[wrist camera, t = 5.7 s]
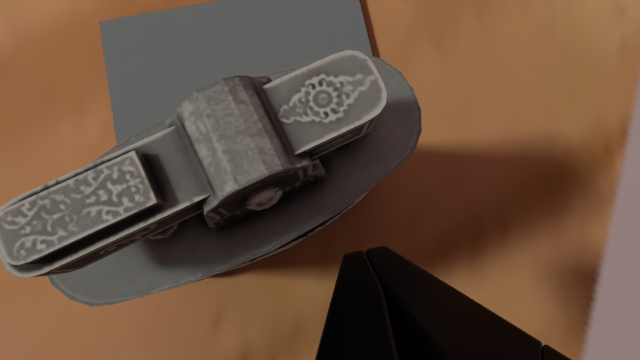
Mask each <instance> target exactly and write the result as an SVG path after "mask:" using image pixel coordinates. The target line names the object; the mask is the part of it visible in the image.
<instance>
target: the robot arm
mask: <svg viewBox="0 0 640 360" xmlns="http://www.w3.org/2000/svg"><path fill="white" fill-rule="evenodd" d="M315 360H571V359H570V358H568V357H566V356H565V355H563V354H562V353H560V352H558V351H557V350H555V349H553V348H552V347H550V346H549V345H543V347H542V343H541V341H539V340H537V339H536V338H534V337H533V336H531V335H529V334H528V333H526V332H524V331H523V330H521V329H520V328H518V327H516V326H515V325H513V324H511V323H510V322H508V321H507V320H505V319H503V318H502V317H500V316H499V315H497V314H495V313H494V312H492V311H490V310H489V309H487V308H486V307H484V306H482V305H481V304H479V303H477V302H476V301H474V300H473V299H471V298H469V297H468V296H466V295H465V294H463V293H461V292H460V291H458V290H456V289H455V288H453V287H452V286H450V285H448V284H447V283H445V282H443V281H442V280H440V279H439V278H437V277H435V276H434V275H432V274H431V273H429V272H427V271H426V270H424V269H422V268H421V267H419V266H418V265H416V264H414V263H413V262H411V261H409V260H408V259H406V258H405V257H403V256H401V255H400V254H398V253H397V252H395V251H393V250H392V249H390V248H388V247H386V246H380V247H376V248H371V249H367V250H366V252H364V251H357V252H352V253H347V254H345V255H344V256H343V258H342V262H341V265H340V269H339V273H338V276H337V280H336V284H335V288H334V291H333V295H332V299H331V302H330V306H329V310H328V313H327V317H326V321H325V325H324V328H323V332H322V336H321V339H320V343H319V347H318V350H317V354H316V358H315Z"/></svg>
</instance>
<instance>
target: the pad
mask: <svg viewBox="0 0 640 360" xmlns="http://www.w3.org/2000/svg"><path fill="white" fill-rule="evenodd" d="M99 22H100V29H101V36H102V43H103V50H104V57H105V64H106V71H107V78H108V85H109V92H110V99H111V106H112V113H113V120H114V127H115V134H116V141H117V144H119V143H120V142H122V141H123V140H125V139H126V138H128V137H129V136H131V135H133V134H135V133H137V132H139V131H141V130H143V129H145V128H146V127H148V126H150V125H152V124H154V123H156V122H158V121H160V120H162V119H163V118H165V117H167V116H169V115H171V114H173V113H175V110H176V107H177V106H178V104H179V103H180V102H181V101H182V100H183V99H184V98H186V97H187V96H189V95H190V94H191V93H193V92H194V91H196V90H199V89H201V88H203V87H205V86H208V85H210V84H212V83H214V82H217V81H219V80H221V79H224V78H229V77H233V76H250V77H253V78H254V77H261V76H264V75H267V74H269V73H272V72H275V71H279V70H283V69H287V68H291V67H295V66H299V65H303V64H308V63H312V62H316V61H319V60H321V59H323V58H326V57H328V56H330V55H332V54H335V53H339V52H342V51H345V50H352V51H359V52H361V53H362V54H363V53H364V54H367V55H371V56H373V55H372V51H371V47H370V43H369V39H368V34H367V30H366V26H365V22H364V18H363V13H362V9H361V5H360V1H359V0H220V1H214V2H208V3H202V4H197V5H191V6H185V7H179V8H174V9H168V10H162V11H156V12H151V13H145V14H139V15H133V16H128V17H122V18H116V19H110V20H105V21H99Z"/></svg>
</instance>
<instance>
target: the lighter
mask: <svg viewBox="0 0 640 360" xmlns="http://www.w3.org/2000/svg"><path fill="white" fill-rule="evenodd" d="M420 133H421V109H420V106H419V103H418V101H417V98H416V95H415V92H414V89H413V88H412V87H411V85H410V84H409V83H408V81H407V80H406V79H405V77H404V76H403V75H402V73H401V72H400V71H398V70H397V69H396V68H394V67H393V66H391V65H390V64H389V63H387V62H386V61H385V60H383V59H380V58H377V57H374V56H371V55H367V54H364V53H363V54H362V53H361V52H359V51H352V50H345V51H342V52H339V53H335V54H332V55H330V56H328V57H326V58H323V59H321V60H319V61H316V62H312V63H308V64H303V65H299V66H295V67H291V68H287V69H283V70H279V71H275V72H272V73H269V74H267V75H264V76H261V77H254V78H253V77H250V76H233V77H229V78H224V79H221V80H219V81H217V82H214V83H212V84H210V85H208V86H205V87H203V88H201V89H199V90H196V91H194V92H193V93H191V94H190V95H189V96H187V97H186V98H184V99H183V100H182V101H181V102H180V103H179V104H178V106H177V107H176V110H175V113H173V114H171V115H169V116H167V117H165V118H163V119H162V120H160V121H158V122H156V123H154V124H152V125H150V126H148V127H146V128H145V129H143V130H141V131H139V132H137V133H135V134H133V135H131V136H129V137H128V138H126V139H125V140H123V141H122V142H120V143H119V144H117V145H116V146H115V147H113V148H112V149H110V150H109V151H107V152H106V153H104V154H103V155H101V156H100V157H98V158H97V159H95V160H94V161H93V162H91V163H90V164H88V165H86V166H84V167H82V168H79V169H77V170H75V171H73V172H70V173H68V174H66V175H64V176H62V177H59V178H57V179H55V180H53V181H51V182H48V183H46V184H44V185H42V186H39V187H37V188H35V189H33V190H31V191H28V192H26V193H24V194H22V195H19V196H17V197H15V198H14V199H12V200H10V201H9V202H7V203H5V204H4V205H2V206H1V207H0V259H1V261H2V263H3V264H4V266H5V268H6V270H8V271H9V272H11V273H12V274H14V275H15V276H17V277H38V276H47V277H48V279H49V280H50V282H51V284H52V285H53V286H54V287H55V288H57V289H58V290H59V291H60V292H61V293H63V294H64V295H65V296H66V297H68V298H69V299H70V300H73V301H76V302H79V303H82V304H85V305H88V306H106V305H114V304H118V303H122V302H125V301H129V300H132V299H136V298H140V297H143V296H147V295H151V294H154V293H158V292H161V291H165V290H169V289H172V288H176V287H180V286H183V285H187V284H191V283H194V282H197V281H200V280H203V279H205V278H208V277H210V276H213V275H215V274H218V273H221V272H225V271H229V270H232V269H236V268H240V267H243V266H246V265H249V264H251V263H254V262H256V261H259V260H261V259H264V258H266V257H269V256H271V255H273V254H276V253H278V252H281V251H283V250H286V249H288V248H290V247H292V246H293V245H295V244H297V243H298V242H300V241H302V240H304V239H305V238H307V237H309V236H310V235H312V234H314V233H316V232H317V231H319V230H321V229H322V228H324V227H326V226H327V225H329V224H330V223H331V222H333V221H334V220H335V219H337V218H338V217H339V216H341V215H342V214H343V213H344V212H346V211H347V210H348V209H350V208H351V207H352V206H354V205H355V204H356V203H358V202H359V201H360V200H361V199H362V198H363V197H364V196H365V195H366V194H367V192H368V191H369V190H370V189H371V188H373V187H374V186H375V185H377V184H378V183H379V182H381V181H382V180H383V179H385V178H386V177H387V176H389V175H390V174H391V173H393V172H394V171H395V170H396V169H398V168H399V167H400V166H401V165H402V164H403V163H404V162H405V161H406V160H407V159H408V157H409V156H410V155H411V154H412V153H413V152H414V150H415V149H416V146H417V143H418V140H419V137H420Z"/></svg>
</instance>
